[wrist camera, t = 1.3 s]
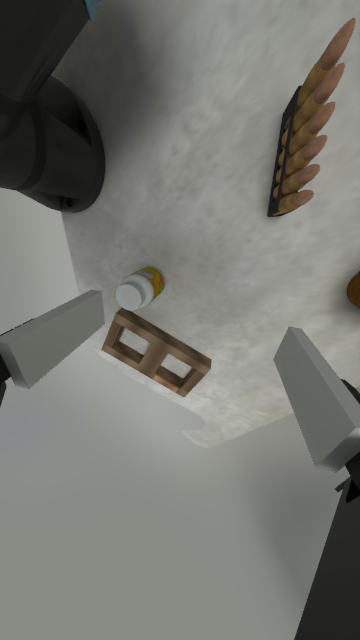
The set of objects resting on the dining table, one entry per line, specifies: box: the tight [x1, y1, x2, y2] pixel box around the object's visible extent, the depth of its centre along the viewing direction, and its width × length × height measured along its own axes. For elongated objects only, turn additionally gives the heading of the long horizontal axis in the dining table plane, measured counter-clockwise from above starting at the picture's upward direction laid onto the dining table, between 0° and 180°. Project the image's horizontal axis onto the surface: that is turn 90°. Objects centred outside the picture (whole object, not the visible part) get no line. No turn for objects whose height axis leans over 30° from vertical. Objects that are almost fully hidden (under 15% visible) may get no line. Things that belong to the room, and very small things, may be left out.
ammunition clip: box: [267, 18, 355, 217], centre depth 18 cm, size 11×2×12 cm, turn 2°
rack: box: [101, 308, 211, 397], centre depth 40 cm, size 22×11×3 cm, turn 61°
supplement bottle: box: [115, 267, 165, 311], centre depth 30 cm, size 5×5×10 cm
